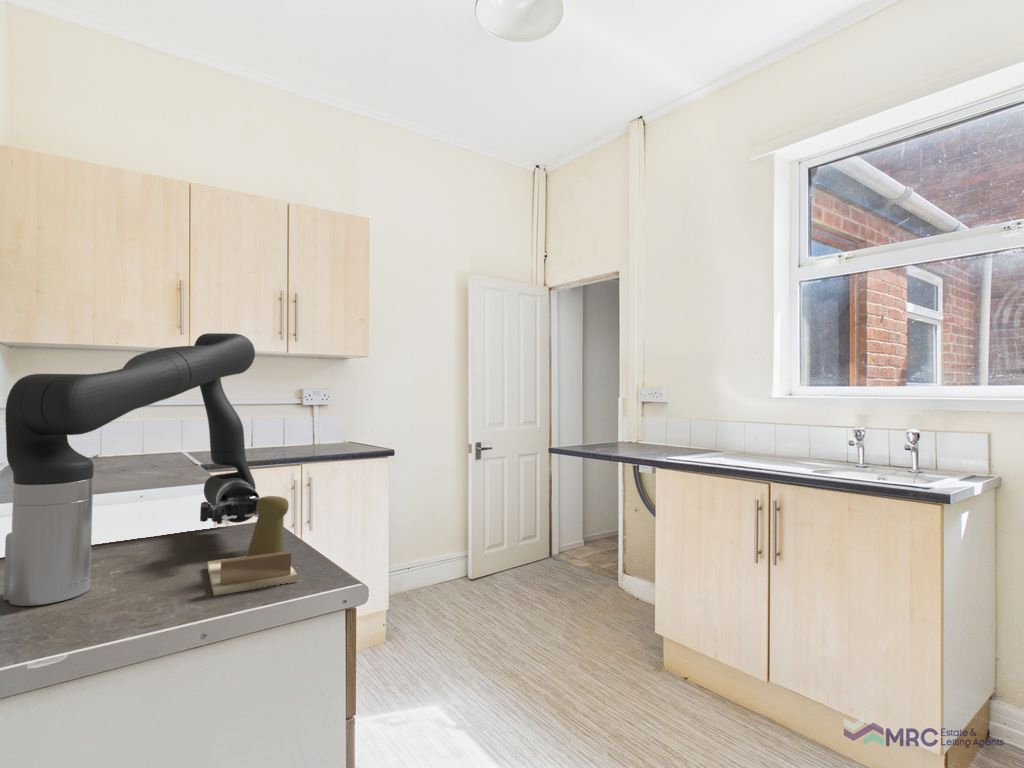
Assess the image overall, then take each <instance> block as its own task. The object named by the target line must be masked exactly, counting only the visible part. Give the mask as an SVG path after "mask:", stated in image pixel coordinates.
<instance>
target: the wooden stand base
mask: <svg viewBox="0 0 1024 768" xmlns="http://www.w3.org/2000/svg"><path fill="white" fill-rule="evenodd" d="M291 562H292V552H291V551H290V550H286V551H283V552H277V553H270V554H262V555H255V556H247V557H246V556H244V555H243V556H238V557H230V558H223V559H215V560H214V559H213V560H210V561H207V571H208V572H207V573H208V576H209V582H210V585H211V589H212V594H213V597H214V596H219V595H225V594H233V593H237V592H244V591H249V590H250V591H251V590H257V588H258V589H264V588H267V587H268V586H270V587H275V586H274V585H276V586H281V585H280V584H282V585H287V584H286V583H288V584H293V583H298V573H297V572H296V570H295V569H294V568H293V566H292V565H291V564H292V563H291ZM263 587H264V588H263ZM268 588H269V587H268Z"/></svg>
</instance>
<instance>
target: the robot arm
mask: <svg viewBox="0 0 1024 768" xmlns="http://www.w3.org/2000/svg"><path fill="white" fill-rule="evenodd" d="M255 357H256V350H255V347H254V344H253V343H252V341H251V340H250V339H249V338H248V337H246V336H245V335H243V334H238V333H229V332H228V333H226V332H224V333H223V332H222V333H221V332H220V333H217V332H215V333H212V332H211V333H203V334H202V335H201V334H200V336H198V338H197V339H196V341H195V342H194V345H184V346H183V345H182V346H180V345H179V346H172V347H164V348H158V349H155V350H151V351H146V352H143V353H140V354H137V355H135V356H133V357H132V358H130V359H129V360H128V361H127V362H126V363H125V364H124V366H123V367H122V368H120V369H116V370H115V369H114V370H111V371H106V372H98V373H87V374H86V373H85V374H83V373H33V374H29V375H25V376H23V377H21V378H19V379H18V380H17V381H16V382H15V383H14V384H13V385H12V387H11V389H10V390H9V393H8V395H7V400H6V404H5V412H4V413H5V414H4V415H5V436H6V437H5V442H6V443H5V445H6V446H5V447H6V460H7V463H8V465H9V467H10V469H11V471H12V474H13V475H12V476H13V477H12V478H13V481H12V482H13V483H12V484H13V485H12V486H13V487H12V513H11V515H12V517H11V518H12V519H11V532H8V533H7V534H6V536H5V541H4V542H5V545H4V546H5V547H4V571H3V573H4V575H3V601H8V602H9V604H11V605H13V606H19V607H20V606H21V607H26V606H27V607H29V606H30V607H31V606H41V605H42V606H43V605H48V604H53V603H58V602H62V601H67V600H69V599H73V598H76V597H79V596H81V595H83V594H85V593H87V592H88V591H89V590H90V587H91V585H90V584H91V563H92V562H91V559H92V532H93V530H92V529H93V503H94V501H93V500H94V497H93V495H94V494H93V493H94V471H95V470H94V469H95V468H94V466H95V465H94V462H93V460H92V459H91V458H90V457H88V456H85V455H83V454H81V453H79V452H77V451H76V450H75V449H74V448H72V446H71V445H70V443H69V440H68V436H75V435H76V436H77V435H85V434H87V433H90V432H93V431H95V430H97V429H100V428H102V427H104V426H106V425H107V424H110V423H111V422H113V421H115V420H116V419H119V418H121V417H122V416H125V415H126V414H128V413H130V412H132V411H134V410H137V409H140V408H143V407H147V406H150V405H153V404H155V403H158V402H161V401H164V400H168V399H170V398H173V397H176V396H177V395H181V394H183V393H185V392H187V391H190V390H192V389H195V388H197V387H199V388H200V392H201V396H202V400H203V403H204V407H205V411H206V412H205V413H206V416H207V422H208V430H209V447H210V459H211V462H212V463H213V464H215V465H218V466H228V467H229V466H231V467H234V468H235V469H236V470H237V471H235V472H227V473H226V472H225V473H219V474H214V475H212V476H209V477H208V478H207V479H206V481H205V483H204V487H203V494H204V497H205V501H203V502H200V510H199V512H200V513H199V515H200V518H199V521H200V522H204V523H205V522H206V521H208V519H210V520H211V522H213V523H216V524H217V525H222V524H223V521H228V522H231V523H236V524H237V523H244V522H247V521H249V520H251V519H252V518H253V517H257V518H258V516H259V514H258V513H257V509H256V507H257V503H258V501H259V499H260V498H261V497H260V495H259V494H258V492H257V491H256V483H255V479H254V477H253V474H252V473H251V472H252V471H251V469H250V468H249V467H250V466H249V464H248V461H247V457H246V456H247V455H246V449H245V446H246V445H245V431H244V427H243V426H244V425H243V423H242V420H241V418H240V417H239V415H238V413H237V411H236V410H235V408H234V407H233V405H232V403H231V402H230V400H229V399H228V397H227V395H226V393H225V391H224V388H223V385H222V379H221V378H224V377H230V376H235V375H240V374H243V373H244V372H246V371H248V369H250V368H251V366H252V365H253V363H254V360H255Z"/></svg>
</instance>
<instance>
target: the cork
mask: <svg viewBox="0 0 1024 768" xmlns="http://www.w3.org/2000/svg"><path fill="white" fill-rule="evenodd" d="M259 498H260V499H259V501H258V503H257V507H256V509H257V513H258V514H259V516H258V517H257V519H256V522H255V525H254V529H253V532H252V535H251V539H250V543H249V546H248V549H247V553H246V557H247V556H255V555H262V554H270V553H277V552H284V525H285V524H284V518H285V516H286V515H287V512H288V510H289V506H290V505H289V501H288V499H286V498H285V497H282V496H276V495H274V496H273V495H267V496H262V497H259Z"/></svg>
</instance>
